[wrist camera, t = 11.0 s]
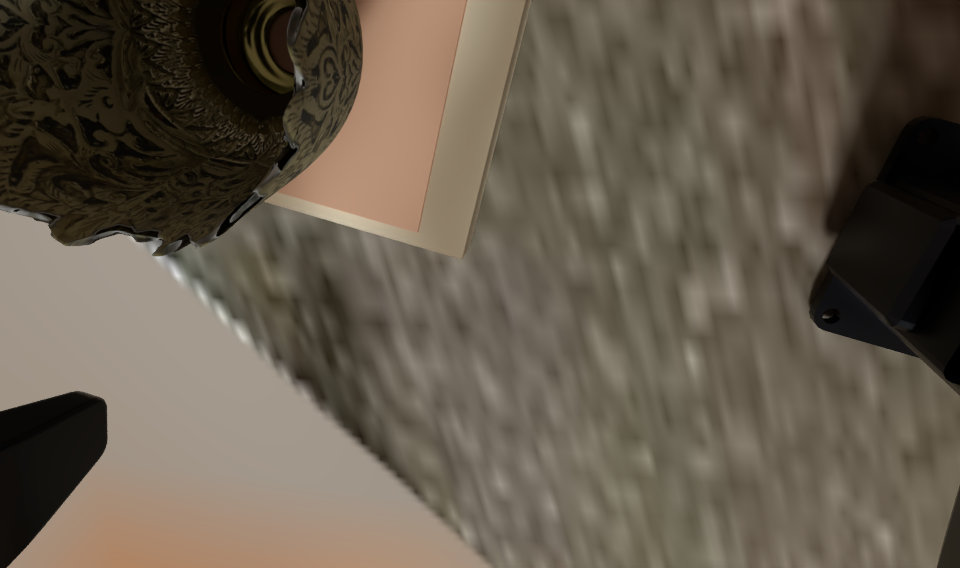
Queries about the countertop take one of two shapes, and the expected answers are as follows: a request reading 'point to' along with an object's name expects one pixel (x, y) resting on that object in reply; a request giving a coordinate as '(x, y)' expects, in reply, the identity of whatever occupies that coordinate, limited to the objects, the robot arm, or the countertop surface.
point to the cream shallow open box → (415, 120)
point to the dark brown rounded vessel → (165, 111)
